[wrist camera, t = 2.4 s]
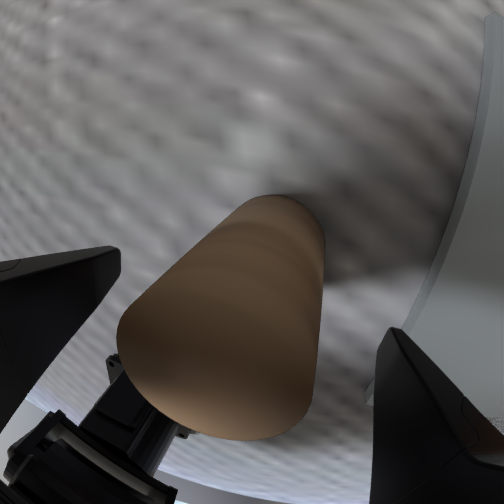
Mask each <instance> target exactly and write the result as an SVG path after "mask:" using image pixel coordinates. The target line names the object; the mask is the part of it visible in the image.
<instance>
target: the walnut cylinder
mask: <svg viewBox="0 0 504 504" xmlns="http://www.w3.org/2000/svg"><path fill="white" fill-rule="evenodd" d="M324 261H325V239H324V234H323V231H322V228H321V226H320V224H319V222H318V220H317V219H316V218H315V216H314V215H313V214H312V213H311V212H310V210H308V209H307V208H306V207H305V206H304V205H302V204H300V203H299V202H297V201H295V200H293V199H290V198H287V197H284V196H278V195H265V196H259V197H256V198H253V199H250V200H249V201H247V202H245V203H244V204H242V205H241V206H239V207H238V208H237V209H236V210H235V211H234V212H233V213H231V214H230V215H229V216H228V217H227V218H226V219H225V220H223V221H222V222H221V223H220V224H219V225H218V226H217V227H215V228H214V229H213V230H212V231H211V232H210V233H209V234H207V235H206V236H205V237H204V238H203V239H202V240H201V241H200V242H198V243H197V244H196V245H195V246H194V247H193V248H192V249H191V250H190V251H188V252H187V253H186V254H185V255H184V256H183V257H182V258H181V259H180V260H179V261H177V262H176V263H175V264H174V265H173V266H172V267H171V268H170V269H169V270H168V271H167V272H165V273H164V274H163V275H162V276H161V277H160V278H159V279H158V280H157V281H156V282H155V283H154V284H152V285H151V286H150V287H149V288H148V289H147V290H146V291H145V292H144V293H143V294H142V295H141V296H140V297H139V298H138V299H137V300H135V301H134V302H133V303H132V304H131V305H130V306H129V307H128V309H127V310H126V311H125V312H124V314H123V315H122V317H121V319H120V321H119V325H118V328H117V336H116V340H117V349H118V354H119V357H120V360H121V363H122V366H123V368H124V370H125V372H126V374H127V375H128V377H129V379H130V380H131V382H132V383H133V384H134V386H135V387H136V388H137V390H138V391H139V392H140V393H141V394H142V395H143V396H144V398H146V399H147V400H148V401H149V402H150V403H151V404H152V405H153V406H154V407H156V408H157V409H158V410H159V411H161V412H162V413H163V414H165V415H166V416H168V417H169V418H171V419H173V420H174V421H176V422H178V423H179V424H181V425H183V426H186V427H188V428H190V429H192V430H195V431H197V432H200V433H203V434H206V435H209V436H213V437H217V438H222V439H229V440H241V441H246V440H260V439H265V438H270V437H273V436H276V435H279V434H282V433H284V432H286V431H288V430H289V429H291V428H292V427H294V426H295V425H296V424H297V423H298V422H299V421H300V420H301V419H302V418H303V417H304V416H305V414H306V413H307V411H308V409H309V406H310V404H311V400H312V395H313V387H314V379H315V371H316V362H317V352H318V343H319V332H320V321H321V308H322V295H323V279H324Z"/></svg>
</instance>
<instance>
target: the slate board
mask: <svg viewBox="0 0 504 504" xmlns="http://www.w3.org/2000/svg"><path fill="white" fill-rule="evenodd" d="M402 330H403V331H404V332H405V333H406V334H407V335H408V336H409V337H410V338H411V339H412V340H413V341H414V342H415V343H416V344H417V345H418V346H419V347H420V348H421V349H422V350H423V351H424V352H425V353H426V354H427V356H428V357H429V358H430V359H431V360H432V361H433V362H434V363H435V364H436V365H437V366H438V367H439V368H440V369H441V370H442V371H443V372H444V373H445V374H446V376H447V377H448V378H449V379H450V380H451V381H452V382H453V383H454V384H455V385H456V386H457V387H458V388H459V390H460V391H461V392H462V393H463V394H464V396H466V397H467V398H468V399H469V400H470V402H471V403H472V404H473V405H474V406H475V407H476V408H477V409H478V410H479V411H480V412H481V413H482V414H483V415H484V416H485V417H486V418H504V17H502V16H501V15H499V14H497V13H496V12H493V13H492V14H490V15H489V16H487V17H486V18H485V42H484V58H483V70H482V79H481V87H480V95H479V101H478V108H477V114H476V119H475V125H474V130H473V135H472V139H471V144H470V148H469V153H468V157H467V161H466V165H465V169H464V172H463V176H462V180H461V183H460V187H459V190H458V193H457V197H456V200H455V203H454V206H453V209H452V212H451V215H450V218H449V221H448V224H447V227H446V230H445V232H444V235H443V238H442V240H441V243H440V246H439V248H438V251H437V253H436V256H435V258H434V261H433V263H432V266H431V268H430V270H429V273H428V275H427V277H426V280H425V282H424V284H423V286H422V289H421V291H420V293H419V295H418V297H417V299H416V301H415V303H414V306H413V308H412V310H411V312H410V314H409V316H408V318H407V320H406V322H405V324H404V325H403V327H402ZM374 382H375V377H374V378H373V380H372V381H371V383H370V385H369V386H368V388H367V389H366V391H365V405H369V406H373V394H374Z"/></svg>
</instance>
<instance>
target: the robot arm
mask: <svg viewBox="0 0 504 504" xmlns="http://www.w3.org/2000/svg"><path fill="white" fill-rule="evenodd" d="M120 273H121V252H120V250H119V249H118V248H116V247H113V246H102V247H95V248H88V249H81V250H74V251H68V252H61V253H54V254H48V255H41V256H35V257H29V258H23V259H16V260H9V261H3V262H0V433H1V432H2V430H3V429H4V427H5V426H6V424H7V423H8V421H9V420H10V418H11V417H12V415H13V414H14V413H15V411H16V410H17V408H18V407H19V406H20V404H21V403H22V401H23V400H24V399H25V397H26V396H27V393H29V392H30V390H31V389H32V388H33V386H34V385H35V384H36V382H37V381H38V380H39V378H40V377H41V376H42V374H43V373H44V372H45V370H46V369H47V368H48V367H49V365H50V364H51V363H52V361H53V360H54V359H55V358H56V356H57V355H58V354H59V353H60V351H61V350H62V349H63V348H64V346H65V345H66V344H67V343H68V342H69V340H70V339H71V338H72V337H73V335H74V334H75V333H76V332H77V331H78V329H79V328H80V327H81V326H82V325H83V324H84V322H85V321H86V320H87V319H88V318H89V317H90V315H91V314H92V313H93V312H94V311H95V309H96V308H97V307H98V306H99V304H100V303H101V302H102V300H103V299H104V297H105V296H106V294H107V293H108V292H109V290H110V289H111V287H112V286H113V285H114V283H115V282H116V280H117V279H118V278H119V276H120ZM106 365H107V370H108V375H109V380H110V386H109V387H108V388H107V389H106V391H105V392H104V393H103V394H102V396H101V397H100V398H99V399H98V401H97V402H96V403H95V405H94V407H93V408H92V409H91V410H90V412H89V413H88V414H87V415H86V417H85V418H84V419H83V420H82V422H81V423H80V424H79V426H77V425H75V424H74V423H73V422H72V421H71V420H69V419H68V418H67V417H66V415H65V414H64V413H63V412H62V411H61V410H60V409H59V410H58V411H57V412H56V413H53V412H51V411H50V412H49V413H48V414H47V415H46V416H45V417H44V419H43V420H42V421H41V422H40V423H39V424H38V425H37V426H36V427H35V428H34V429H33V430H31V431H30V432H29V433H27V434H26V435H25V436H24V437H22V438H21V439H19V440H18V441H17V442H15V443H14V444H13V445H11V446H10V448H9V449H8V451H7V453H8V458H9V460H8V463H7V466H6V468H5V471H4V474H3V476H4V477H5V478H6V479H7V480H8V481H9V482H10V483H9V485H8V486H7V485H6V484H5V483H4V482H3V481H2V480H0V504H174V502H175V498H176V495H177V492H178V489H176V488H174V487H172V486H167V485H165V484H163V483H162V482H160V481H158V480H156V479H155V478H153V476H154V474H155V472H156V470H157V469H158V467H159V465H160V463H161V461H162V459H163V457H164V456H165V454H166V452H167V450H168V448H169V446H170V444H171V442H172V441H173V439H174V437H175V436H177V437H180V438H183V439H187V438H188V436H189V432H190V428H188V427H186V426H183V425H181V424H179V423H178V422H176V421H174V420H173V419H171V418H169V417H168V416H166V415H165V414H163V413H162V412H161V411H159V410H158V409H157V408H156V407H154V406H153V405H152V404H151V403H150V402H149V401H148V400H147V399H146V398H144V396H143V395H142V394H141V393H140V392H139V391H138V390H137V388H136V387H135V386H134V384H133V383H132V382H131V380H130V379H129V377H128V375H127V374H126V372H125V370H124V368H123V366H122V363H121V360H120V359H119V358H117V357H115V356H112V355H110V356H109V357H108V358H107V359H106ZM369 504H504V435H503V434H502V433H501V432H500V431H499V430H498V429H497V428H496V427H495V426H494V425H493V424H492V423H491V422H490V421H489V420H488V419H487V418H486V417H485V416H484V415H483V414H482V413H481V412H480V411H479V410H478V409H477V408H476V407H475V406H474V405H473V404H472V403H471V402H470V400H469V399H468V398H467V397H466V396H464V394H463V393H462V392H461V391H460V390H459V388H458V387H457V386H456V385H455V384H454V383H453V382H452V381H451V380H450V379H449V378H448V377H447V376H446V374H445V373H444V372H443V371H442V370H441V369H440V368H439V367H438V366H437V365H436V364H435V363H434V362H433V361H432V360H431V359H430V358H429V357H428V356H427V354H426V353H425V352H424V351H423V350H422V349H421V348H420V347H419V346H418V345H417V344H416V343H415V342H414V341H413V340H412V339H411V338H410V337H409V336H408V335H407V334H406V333H405V332H404V331H403V330H402V329H398V328H394V327H390V328H389V329H388V330H387V332H386V334H385V336H384V338H383V340H382V342H381V344H380V345H379V347H378V350H377V357H376V370H375V382H374V394H373V458H372V476H371V490H370V501H369Z"/></svg>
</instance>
